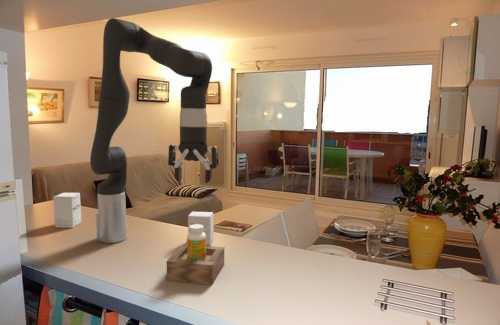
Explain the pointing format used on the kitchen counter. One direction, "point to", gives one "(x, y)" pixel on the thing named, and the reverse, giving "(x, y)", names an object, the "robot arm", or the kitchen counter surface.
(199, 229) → the supplement bottle
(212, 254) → the walnut tray
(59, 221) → the supplement box
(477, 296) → the kitchen counter surface
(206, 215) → the small box
